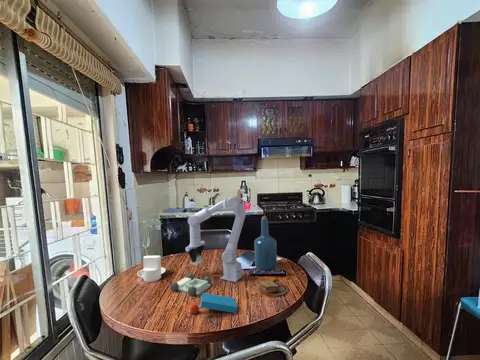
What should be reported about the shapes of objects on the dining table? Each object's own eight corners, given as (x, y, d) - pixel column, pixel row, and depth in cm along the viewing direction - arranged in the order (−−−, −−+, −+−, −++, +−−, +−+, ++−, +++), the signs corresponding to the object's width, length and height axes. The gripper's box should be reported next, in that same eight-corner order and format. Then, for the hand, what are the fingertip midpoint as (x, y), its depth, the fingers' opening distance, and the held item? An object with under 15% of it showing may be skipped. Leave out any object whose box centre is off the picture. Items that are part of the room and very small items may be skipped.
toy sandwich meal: (292, 294, 106) (291, 284, 106) (264, 299, 103) (264, 289, 103) (280, 283, 118) (280, 273, 118) (255, 287, 115) (254, 277, 115)
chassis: (212, 285, 118) (211, 277, 118) (195, 297, 107) (195, 288, 107) (187, 279, 126) (187, 272, 126) (169, 290, 114) (169, 282, 114)
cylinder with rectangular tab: (163, 274, 133) (163, 253, 133) (156, 281, 124) (155, 259, 124) (148, 274, 134) (148, 253, 134) (140, 281, 125) (139, 259, 125)
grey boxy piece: (201, 262, 131) (201, 253, 131) (196, 265, 128) (196, 256, 128) (195, 261, 134) (195, 252, 133) (190, 264, 130) (190, 255, 130)
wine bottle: (258, 272, 132) (257, 219, 132) (252, 264, 145) (250, 215, 145) (281, 269, 135) (279, 217, 135) (272, 261, 148) (271, 214, 148)
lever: (231, 314, 100) (189, 307, 98) (235, 298, 100) (193, 291, 98) (233, 324, 93) (188, 317, 91) (237, 307, 94) (192, 299, 91)
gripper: (197, 232, 139) (198, 255, 139) (180, 238, 126) (181, 264, 126) (207, 233, 135) (208, 257, 136) (191, 240, 123) (192, 265, 123)
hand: (196, 260), depth 131 cm, fingers closed on grey boxy piece, 4 cm apart
